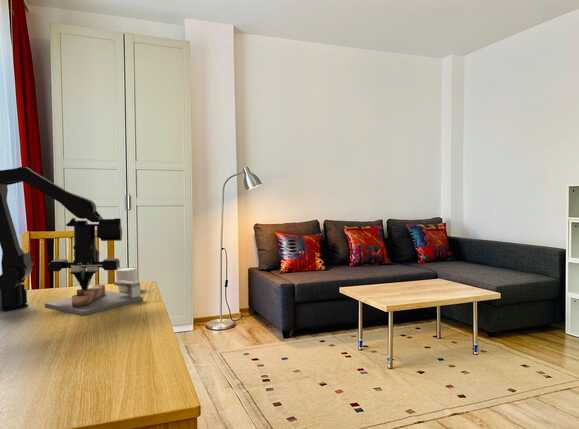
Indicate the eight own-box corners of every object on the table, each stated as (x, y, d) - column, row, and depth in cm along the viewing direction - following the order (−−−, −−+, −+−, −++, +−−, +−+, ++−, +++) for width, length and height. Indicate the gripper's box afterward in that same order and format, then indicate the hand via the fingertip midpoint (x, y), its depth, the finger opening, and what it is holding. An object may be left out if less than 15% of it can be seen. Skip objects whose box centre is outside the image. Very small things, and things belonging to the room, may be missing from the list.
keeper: (132, 298, 130) (131, 284, 130) (114, 295, 134) (113, 281, 134) (140, 296, 132) (139, 282, 132) (122, 293, 137) (122, 280, 137)
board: (82, 315, 116) (82, 311, 116) (44, 306, 126) (44, 303, 126) (142, 300, 132) (142, 296, 132) (104, 293, 142) (104, 290, 142)
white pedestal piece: (115, 288, 149) (114, 268, 149) (137, 286, 152) (136, 266, 152) (117, 292, 143) (116, 271, 143) (139, 290, 146) (138, 269, 146)
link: (86, 306, 120) (85, 291, 120) (69, 306, 120) (68, 291, 120) (108, 292, 138) (108, 279, 138) (94, 292, 138) (93, 279, 138)
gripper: (122, 238, 140) (123, 287, 141) (59, 239, 137) (59, 289, 137) (116, 242, 129) (116, 294, 130) (46, 242, 126) (47, 297, 126)
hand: (85, 293), depth 131 cm, fingers closed
